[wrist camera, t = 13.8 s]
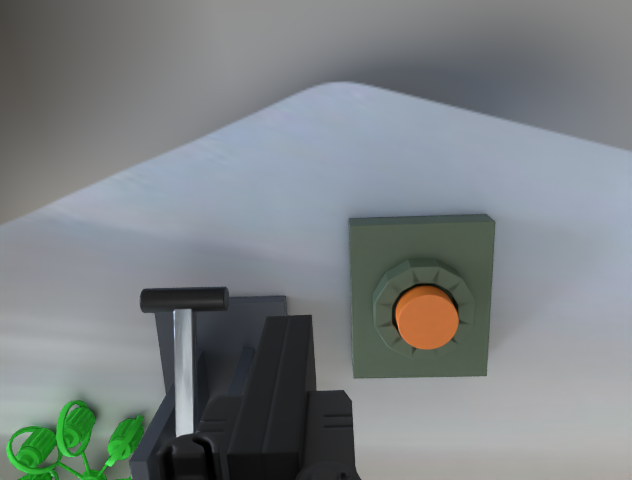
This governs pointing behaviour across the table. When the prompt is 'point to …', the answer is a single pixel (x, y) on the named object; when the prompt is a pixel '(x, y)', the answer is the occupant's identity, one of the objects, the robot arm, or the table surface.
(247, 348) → the switch bracket
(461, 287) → the stop box
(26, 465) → the chandelier
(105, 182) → the table surface
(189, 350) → the switch lever
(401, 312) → the stop button
